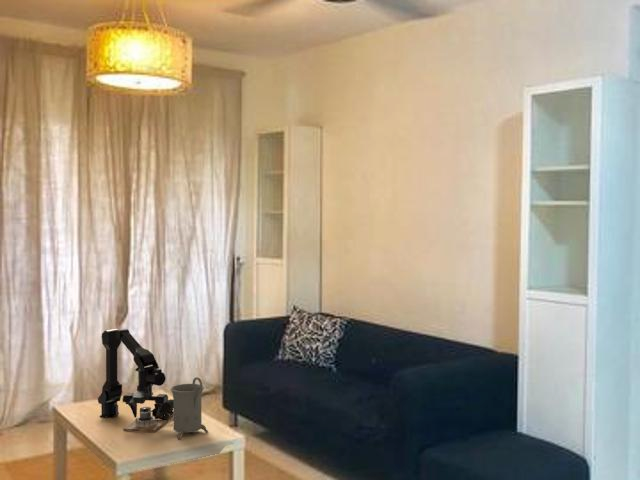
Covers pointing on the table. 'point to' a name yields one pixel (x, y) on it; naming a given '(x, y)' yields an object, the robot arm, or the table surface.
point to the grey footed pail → (187, 407)
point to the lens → (145, 413)
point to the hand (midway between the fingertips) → (145, 417)
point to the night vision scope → (165, 410)
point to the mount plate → (144, 429)
